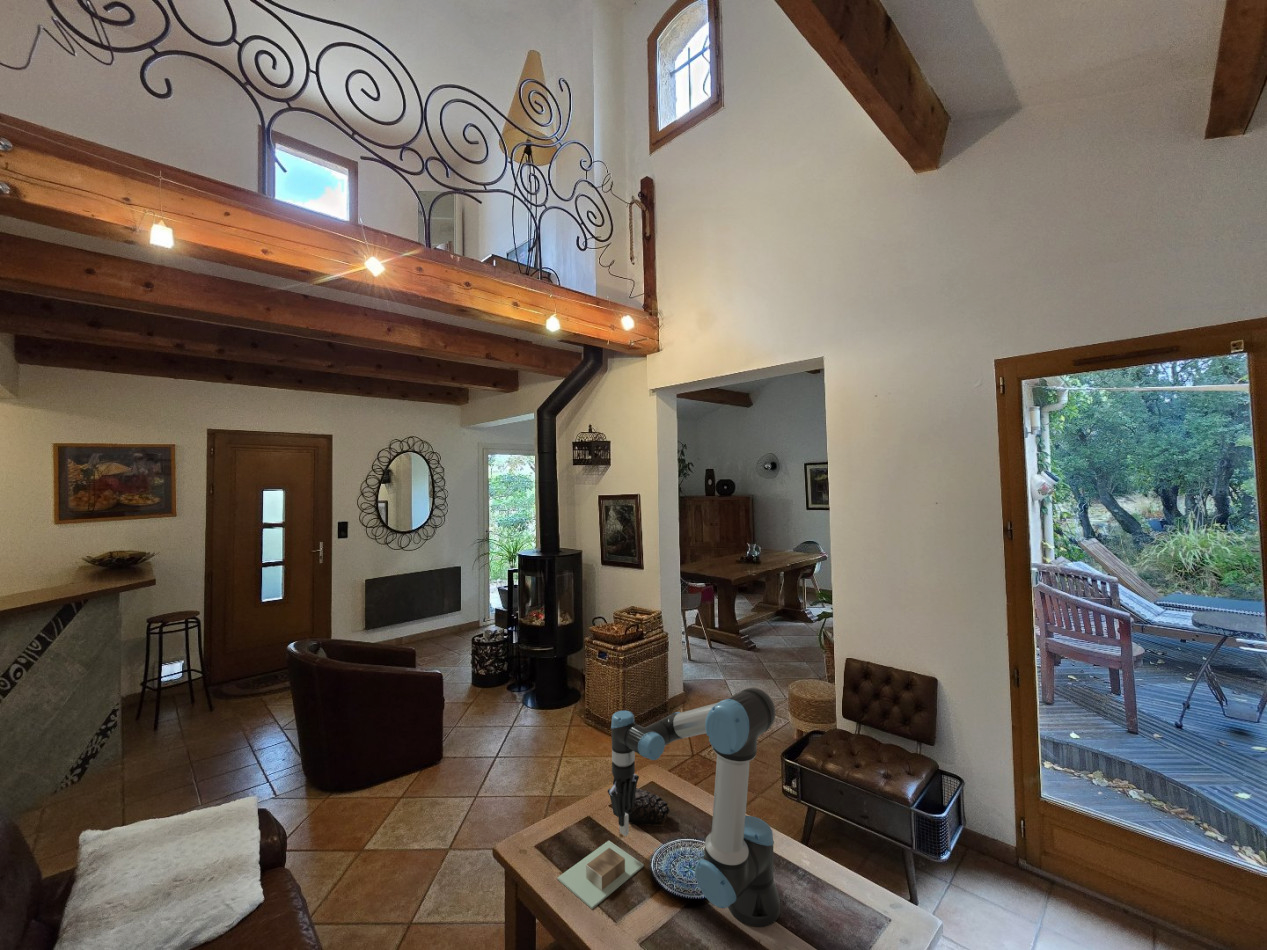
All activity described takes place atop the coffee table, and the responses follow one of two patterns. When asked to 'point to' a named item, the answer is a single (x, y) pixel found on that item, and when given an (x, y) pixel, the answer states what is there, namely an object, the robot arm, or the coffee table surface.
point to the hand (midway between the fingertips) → (624, 833)
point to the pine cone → (648, 809)
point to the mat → (585, 888)
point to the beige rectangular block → (605, 868)
